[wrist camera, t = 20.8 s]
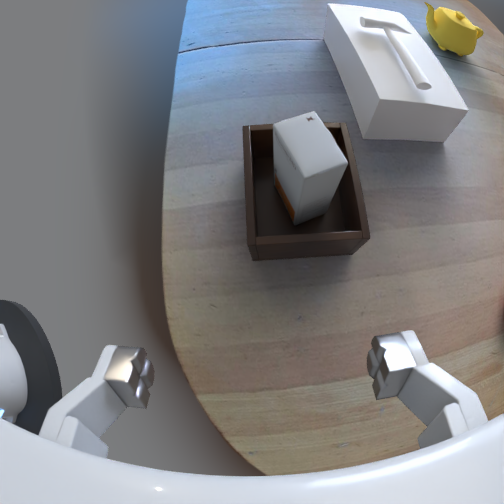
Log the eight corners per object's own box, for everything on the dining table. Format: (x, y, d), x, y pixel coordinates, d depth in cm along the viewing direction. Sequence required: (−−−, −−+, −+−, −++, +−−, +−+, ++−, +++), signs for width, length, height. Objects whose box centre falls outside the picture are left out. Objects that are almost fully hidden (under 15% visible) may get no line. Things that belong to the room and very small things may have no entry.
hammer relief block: (391, 44, 41) (404, 4, 31) (443, 142, 35) (476, 100, 25) (323, 38, 42) (328, -7, 31) (363, 139, 36) (385, 85, 25)
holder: (252, 261, 33) (247, 245, 27) (247, 157, 36) (242, 125, 30) (352, 254, 33) (370, 238, 26) (336, 153, 36) (346, 122, 29)
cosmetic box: (272, 184, 34) (270, 121, 23) (304, 172, 34) (315, 108, 23) (294, 228, 33) (303, 179, 21) (327, 214, 33) (351, 162, 21)
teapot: (421, 48, 41) (436, 12, 31) (404, 22, 44) (414, -11, 33) (481, 67, 40) (498, 39, 29) (462, 40, 42) (475, 13, 32)
